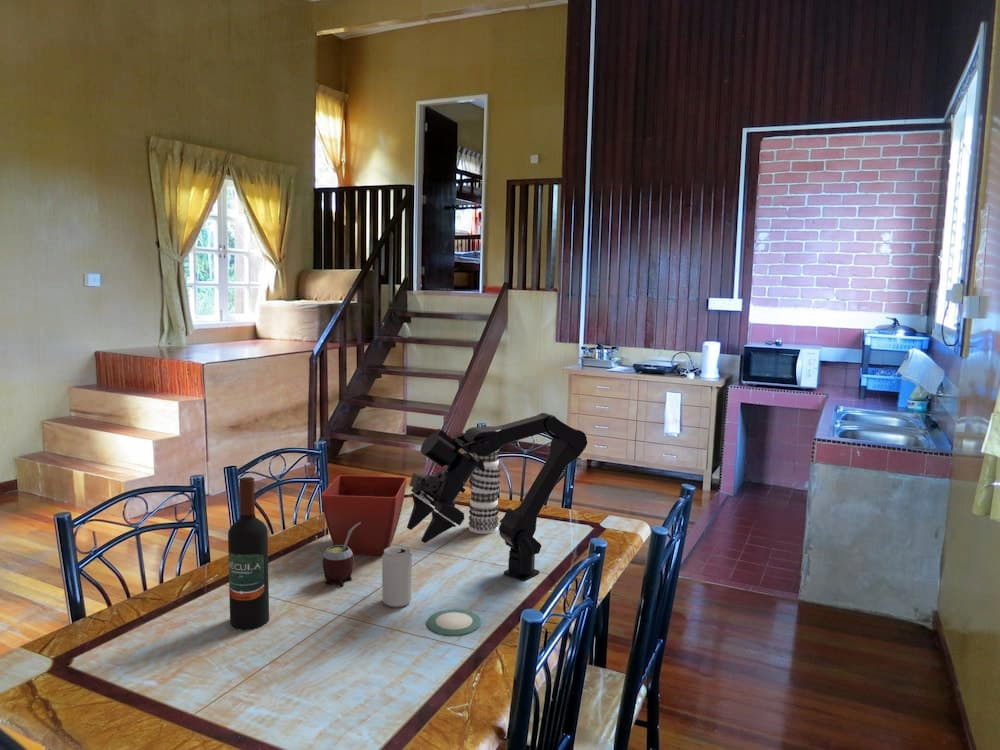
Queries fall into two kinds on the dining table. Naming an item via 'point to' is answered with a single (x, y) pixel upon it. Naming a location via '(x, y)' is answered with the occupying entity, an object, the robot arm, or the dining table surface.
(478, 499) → the decorative candle
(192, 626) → the dining table surface
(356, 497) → the plant pot
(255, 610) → the wine bottle
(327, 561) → the mate gourd
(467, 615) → the coaster
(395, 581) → the beverage can
